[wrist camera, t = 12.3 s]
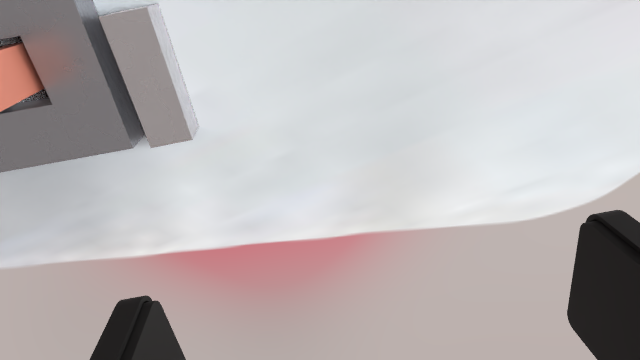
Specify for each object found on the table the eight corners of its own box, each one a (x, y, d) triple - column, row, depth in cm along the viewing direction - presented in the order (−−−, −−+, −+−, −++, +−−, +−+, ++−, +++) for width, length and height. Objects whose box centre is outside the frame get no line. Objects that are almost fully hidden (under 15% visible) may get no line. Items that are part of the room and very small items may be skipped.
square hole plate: (-120, -12, 30) (-159, -10, 27) (74, -48, 30) (54, -49, 27) (-16, 163, 36) (-39, 179, 34) (144, 134, 36) (133, 148, 34)
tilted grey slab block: (115, 11, 32) (98, 17, 29) (159, 3, 32) (146, 7, 29) (161, 132, 37) (150, 147, 34) (199, 125, 37) (192, 139, 34)
